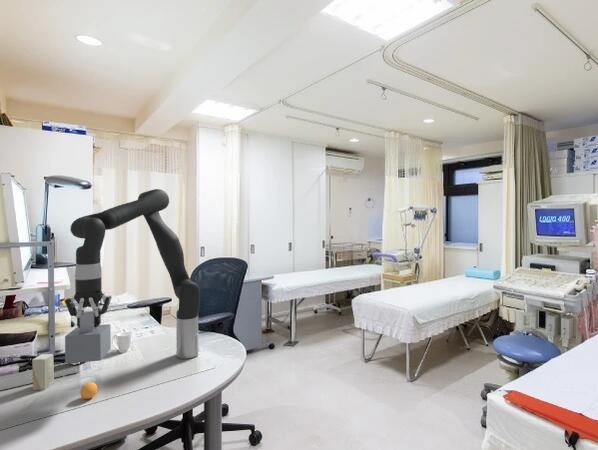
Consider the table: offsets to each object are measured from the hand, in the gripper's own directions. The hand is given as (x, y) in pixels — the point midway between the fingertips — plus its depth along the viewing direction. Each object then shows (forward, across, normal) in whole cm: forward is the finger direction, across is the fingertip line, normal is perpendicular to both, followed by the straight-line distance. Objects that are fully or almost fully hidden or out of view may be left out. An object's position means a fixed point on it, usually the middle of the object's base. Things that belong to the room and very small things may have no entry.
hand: (89, 326), depth 113 cm
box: (+24, +19, -12) cm, 33 cm away
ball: (+22, 0, 0) cm, 22 cm away
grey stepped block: (+10, 0, 0) cm, 10 cm away
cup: (+24, +1, -42) cm, 49 cm away
